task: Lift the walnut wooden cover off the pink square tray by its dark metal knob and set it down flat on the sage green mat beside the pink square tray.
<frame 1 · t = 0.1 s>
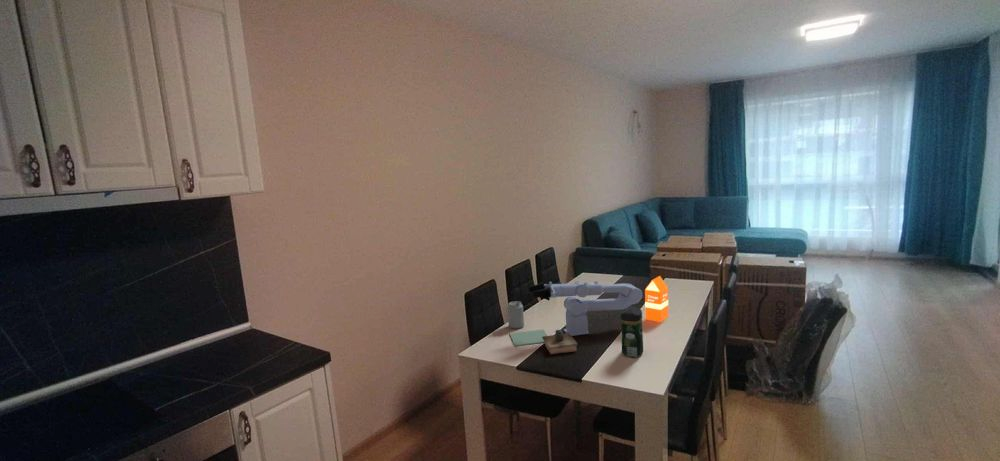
hand: (531, 291, 199), 22 cm above the table, tool horizontal, fingers open, 7 cm apart
mat: (529, 338, 203), on the table
orange juice: (656, 318, 217), on the table
coffee jar: (632, 353, 180), on the table
pink square tray: (559, 347, 190), on the table
can: (516, 326, 218), on the table
cover: (559, 341, 190), point 2 cm above the table, touching pink square tray
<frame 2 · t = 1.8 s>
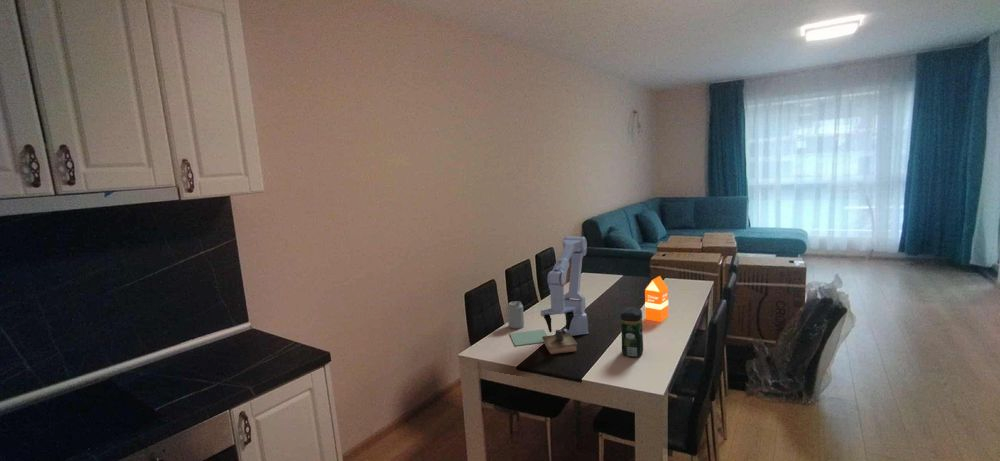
hand: (559, 330, 189), 8 cm above the table, tool pointing down, fingers open, 7 cm apart
nothing on the table moved.
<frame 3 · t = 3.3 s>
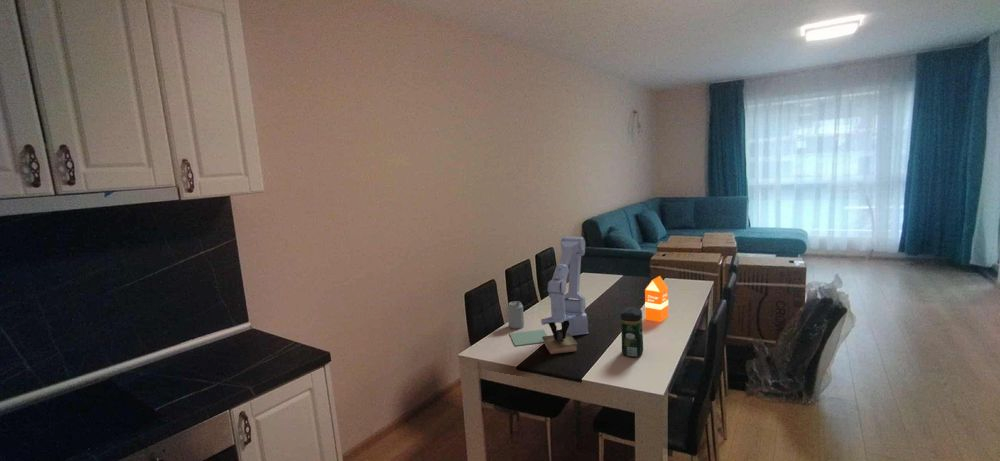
hand: (559, 338, 190), 4 cm above the table, tool pointing down, fingers closed on cover, 3 cm apart
cover: (559, 341, 190), point 2 cm above the table, touching pink square tray, gripper
everything else where it was.
when the fingers open (3 cm above the table, at t = 7.5 s): cover drops 1 cm, resting on mat.
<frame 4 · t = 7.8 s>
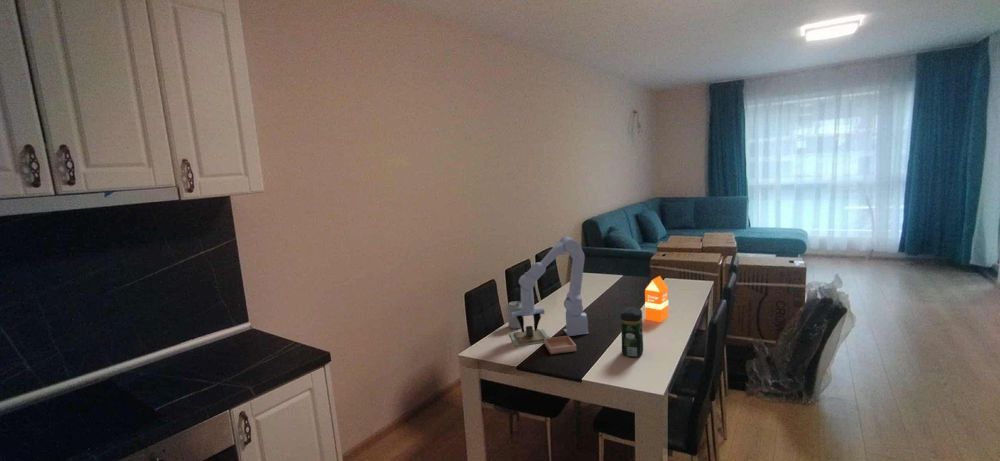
hand: (529, 330, 202), 3 cm above the table, tool pointing down, fingers open, 5 cm apart
cover: (529, 337, 202), resting on mat
everything else where it was.
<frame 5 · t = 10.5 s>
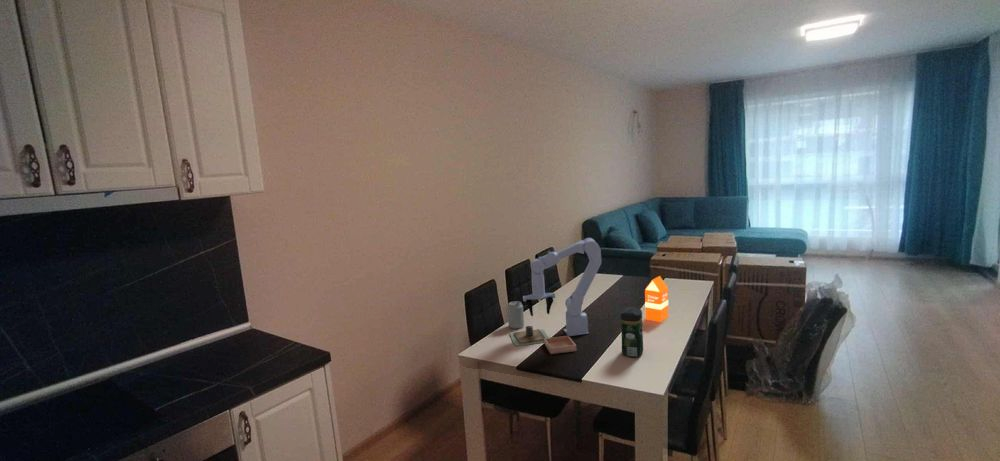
hand: (539, 314, 205), 9 cm above the table, tool pointing down, fingers open, 7 cm apart
nothing on the table moved.
at the end: cover inside the target area on the mat (0.3 cm from its centre), point 0.5 cm above the mat's base; cover touching mat; cover tilted 0° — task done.
